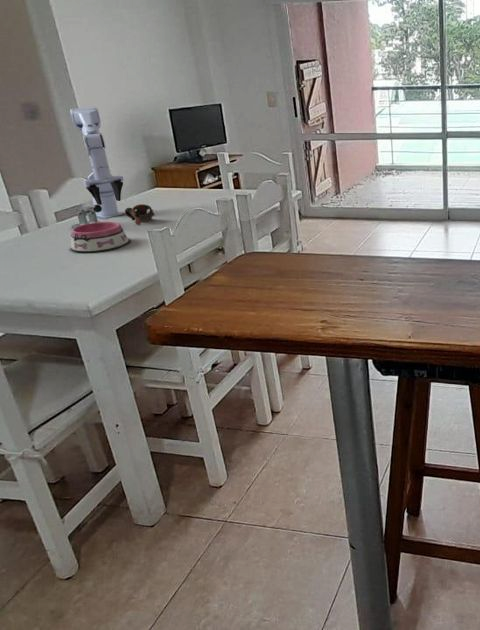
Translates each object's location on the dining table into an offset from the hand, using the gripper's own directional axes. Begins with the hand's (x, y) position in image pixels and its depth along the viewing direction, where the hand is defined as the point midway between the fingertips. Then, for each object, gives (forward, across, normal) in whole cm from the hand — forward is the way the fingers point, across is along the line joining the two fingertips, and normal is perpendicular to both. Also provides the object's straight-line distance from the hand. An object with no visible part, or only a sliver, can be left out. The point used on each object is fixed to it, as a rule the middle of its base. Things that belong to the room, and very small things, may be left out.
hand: (109, 202), depth 223 cm
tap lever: (+4, -4, +6) cm, 9 cm away
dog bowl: (+10, -16, -18) cm, 27 cm away
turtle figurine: (+10, +11, -1) cm, 15 cm away
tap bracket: (+10, -4, +12) cm, 16 cm away
